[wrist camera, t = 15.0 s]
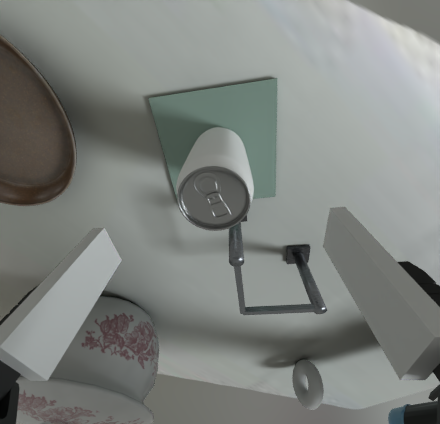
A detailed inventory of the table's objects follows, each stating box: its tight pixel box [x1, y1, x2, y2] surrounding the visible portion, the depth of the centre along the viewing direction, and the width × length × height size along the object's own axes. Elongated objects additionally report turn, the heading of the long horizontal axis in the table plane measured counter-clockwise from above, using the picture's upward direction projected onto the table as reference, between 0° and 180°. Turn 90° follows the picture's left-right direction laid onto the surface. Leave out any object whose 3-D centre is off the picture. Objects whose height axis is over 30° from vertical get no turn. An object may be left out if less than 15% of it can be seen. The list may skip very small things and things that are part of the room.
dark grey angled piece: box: [229, 215, 327, 315], centre depth 28 cm, size 14×14×10 cm
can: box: [176, 127, 254, 231], centre depth 20 cm, size 6×6×12 cm
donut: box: [293, 360, 323, 409], centre depth 53 cm, size 10×4×10 cm, turn 160°
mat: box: [148, 78, 277, 202], centre depth 26 cm, size 14×14×1 cm
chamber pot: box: [16, 296, 159, 424], centre depth 39 cm, size 28×27×21 cm
